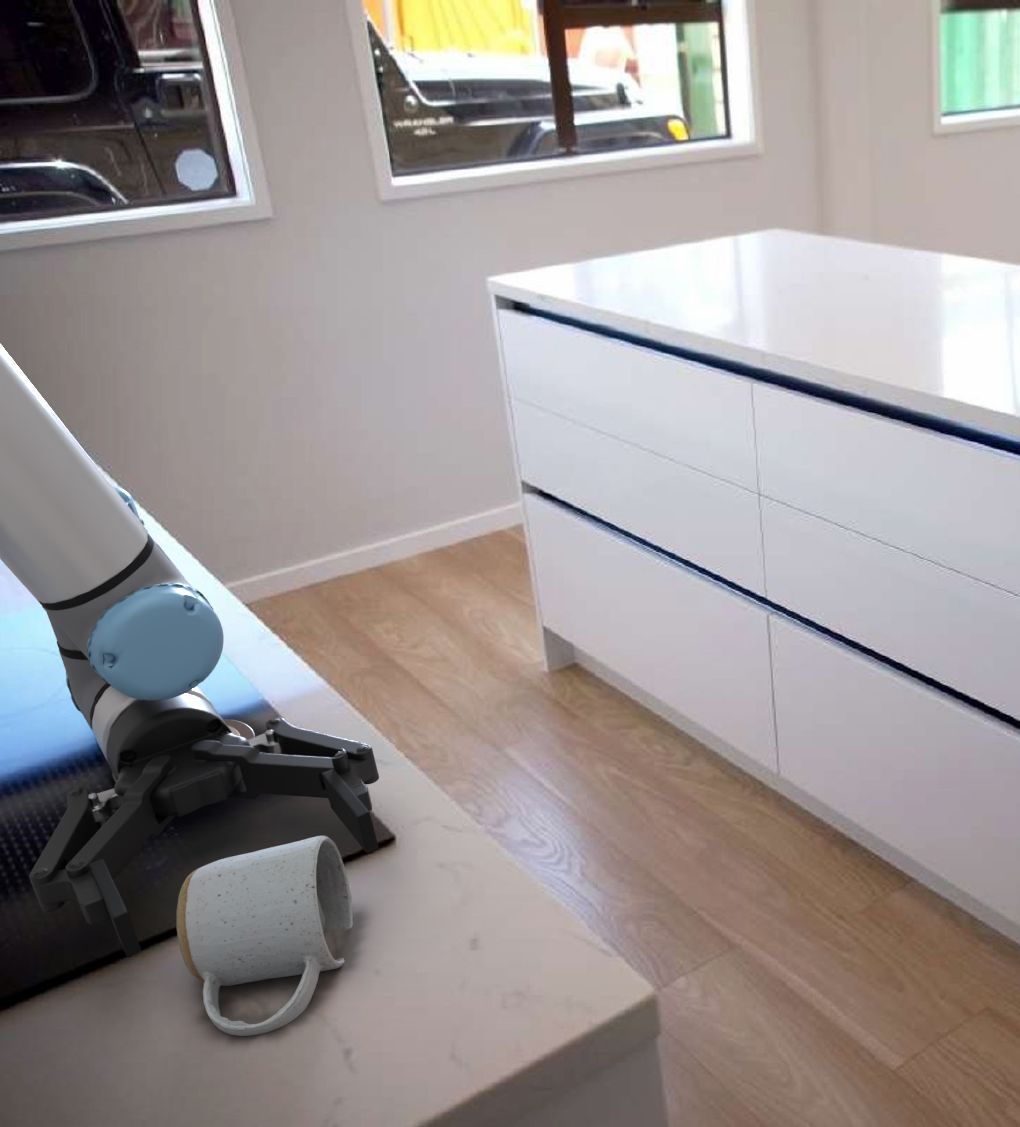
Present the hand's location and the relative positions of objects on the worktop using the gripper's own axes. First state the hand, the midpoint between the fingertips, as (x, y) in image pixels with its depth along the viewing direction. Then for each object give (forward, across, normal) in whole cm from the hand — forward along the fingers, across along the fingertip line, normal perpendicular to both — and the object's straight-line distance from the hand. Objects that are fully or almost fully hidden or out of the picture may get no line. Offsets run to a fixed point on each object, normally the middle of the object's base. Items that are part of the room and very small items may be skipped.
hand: (254, 881), depth 75 cm
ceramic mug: (+2, 0, -6) cm, 6 cm away
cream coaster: (-28, -2, -6) cm, 29 cm away
